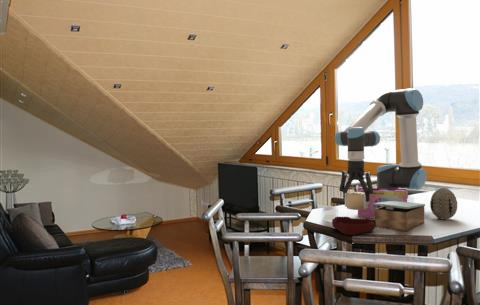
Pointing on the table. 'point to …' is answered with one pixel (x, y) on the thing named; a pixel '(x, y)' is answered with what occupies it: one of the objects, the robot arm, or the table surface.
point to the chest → (399, 218)
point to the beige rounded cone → (355, 200)
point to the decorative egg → (443, 203)
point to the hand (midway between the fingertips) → (356, 207)
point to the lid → (399, 204)
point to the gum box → (382, 199)
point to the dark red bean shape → (353, 225)
